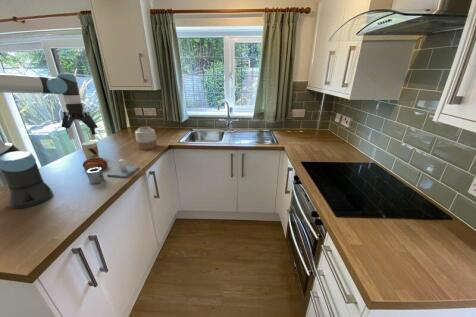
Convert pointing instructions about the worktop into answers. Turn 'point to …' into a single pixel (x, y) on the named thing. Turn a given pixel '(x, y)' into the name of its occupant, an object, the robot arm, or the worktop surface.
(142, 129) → the vase
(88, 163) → the pastry
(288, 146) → the worktop surface
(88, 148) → the coffee cup
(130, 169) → the shaft block
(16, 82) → the robot arm
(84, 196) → the worktop surface
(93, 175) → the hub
